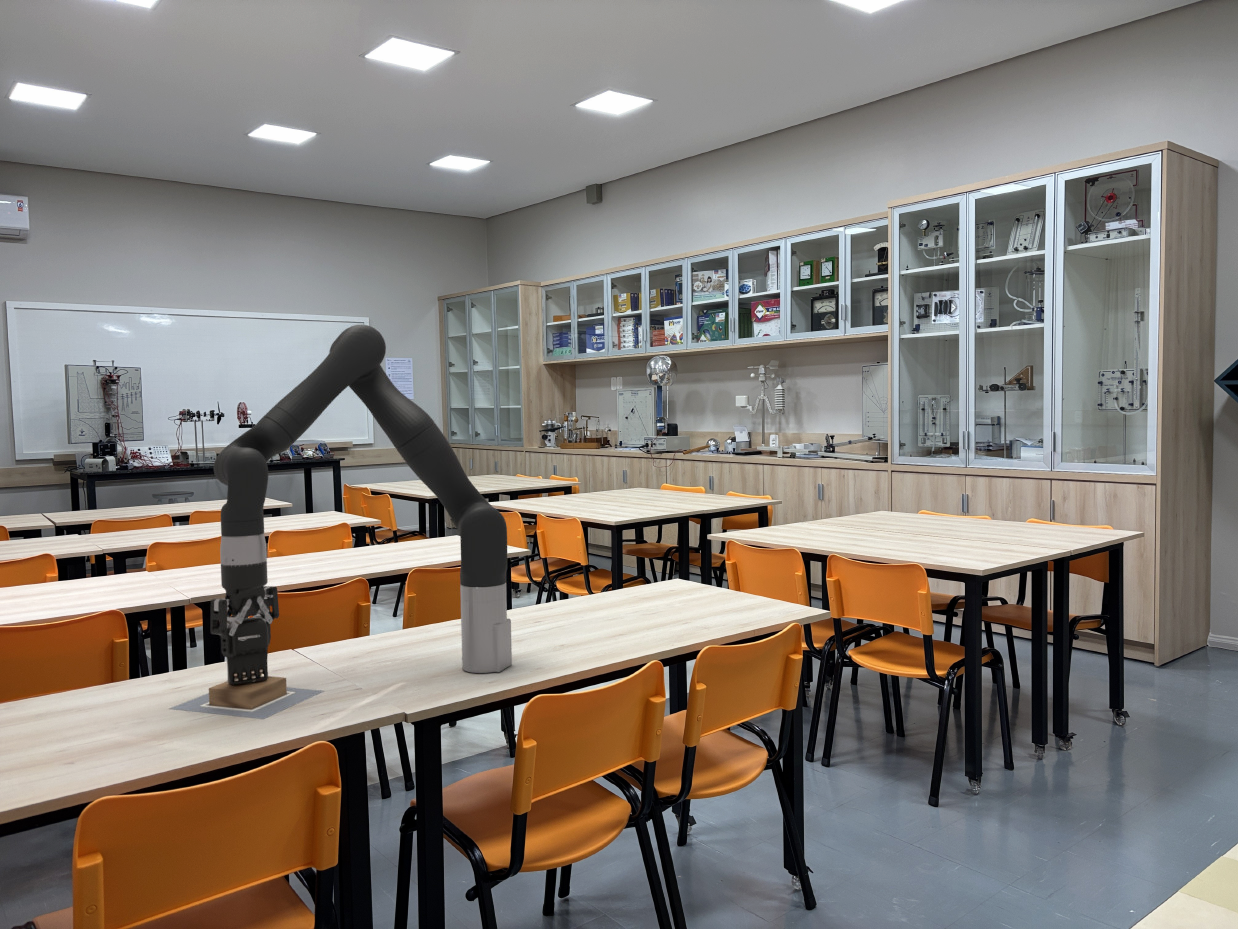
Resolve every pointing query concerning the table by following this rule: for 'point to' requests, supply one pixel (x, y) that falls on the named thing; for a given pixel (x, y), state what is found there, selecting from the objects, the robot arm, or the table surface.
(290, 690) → the board
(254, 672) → the battery charger
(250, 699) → the base block
